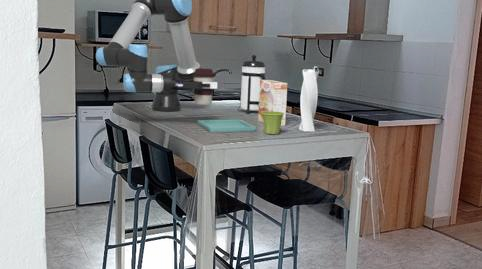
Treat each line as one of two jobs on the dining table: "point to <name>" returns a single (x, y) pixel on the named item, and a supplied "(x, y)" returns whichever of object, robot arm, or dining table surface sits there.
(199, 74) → the coffee cup
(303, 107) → the skyscraper
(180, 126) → the dining table surface
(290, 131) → the dining table surface
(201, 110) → the dining table surface
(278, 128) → the plant pot
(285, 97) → the coffeecake box
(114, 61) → the robot arm
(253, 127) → the tray
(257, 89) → the coffee press
